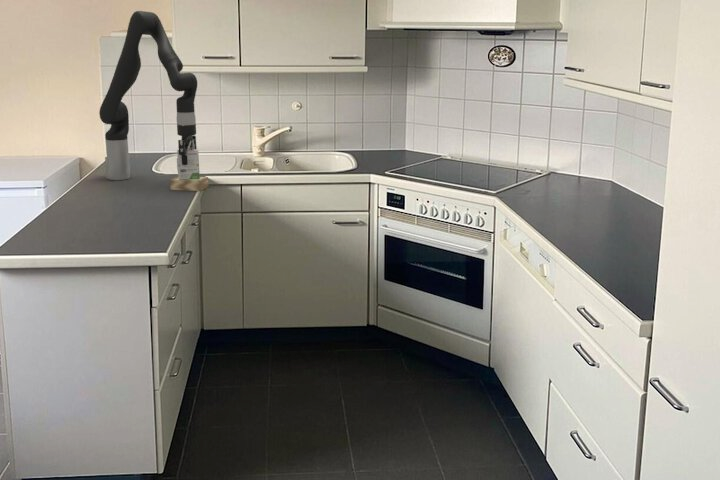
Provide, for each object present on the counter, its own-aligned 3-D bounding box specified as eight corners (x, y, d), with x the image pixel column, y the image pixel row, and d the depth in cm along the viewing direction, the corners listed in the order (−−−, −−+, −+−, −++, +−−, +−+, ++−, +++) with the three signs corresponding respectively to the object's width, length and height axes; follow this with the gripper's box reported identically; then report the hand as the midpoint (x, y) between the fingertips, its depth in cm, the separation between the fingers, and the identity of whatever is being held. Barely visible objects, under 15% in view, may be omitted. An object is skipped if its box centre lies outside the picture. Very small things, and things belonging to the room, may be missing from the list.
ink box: (199, 176, 355) (197, 148, 352) (199, 179, 350) (198, 150, 347) (178, 177, 353) (176, 149, 350) (178, 180, 349) (177, 151, 346)
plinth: (170, 189, 349) (170, 180, 348) (178, 185, 358) (178, 176, 357) (201, 190, 347) (200, 180, 346) (208, 186, 356) (208, 176, 355)
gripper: (183, 120, 353) (185, 159, 357) (170, 125, 340) (173, 165, 344) (201, 121, 352) (203, 160, 356) (189, 125, 338) (191, 166, 343)
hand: (188, 163), depth 350 cm, fingers open, 8 cm apart
